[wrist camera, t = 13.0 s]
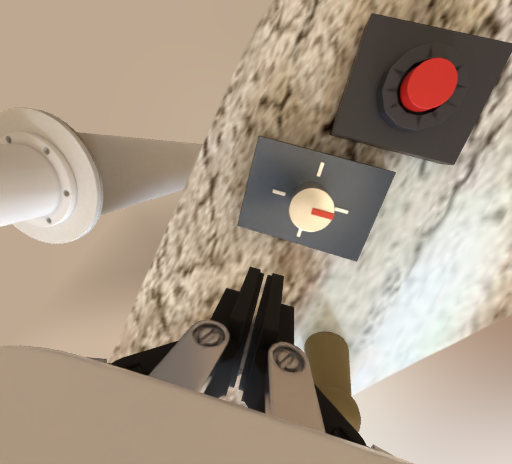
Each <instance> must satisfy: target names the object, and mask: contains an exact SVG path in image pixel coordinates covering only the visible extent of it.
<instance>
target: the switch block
mask: <svg viewBox="0 0 512 464" xmlns="http://www.w3.org/2000/svg"><path fill="white" fill-rule="evenodd" d="M511 52H512V43H508V42H503V41H498V40H494V39H489V38H484V37H480V36H475V35H470V34H466V33H461V32H457V31H452V30H447V29H443V28H438V27H433V26H429V25H424V24H419V23H415V22H410V21H405V20H401V19H396V18H392V17H387V16H382V15H378V14H373V13H372V14H371V16H370V18H369V20H368V22H367V24H366V26H365V29H364V32H363V35H362V38H361V41H360V44H359V47H358V50H357V53H356V56H355V59H354V62H353V65H352V68H351V71H350V74H349V77H348V80H347V83H346V86H345V90H344V93H343V96H342V99H341V102H340V105H339V108H338V111H337V114H336V117H335V120H334V123H333V126H332V129H331V132H330V135H332V136H336V137H340V138H344V139H348V140H352V141H355V142H359V143H363V144H367V145H371V146H375V147H378V148H382V149H386V150H390V151H394V152H398V153H401V154H405V155H409V156H413V157H417V158H421V159H425V160H428V161H432V162H436V163H440V164H448V165H454V164H455V162H456V160H457V158H458V156H459V154H460V152H461V150H462V148H463V147H464V145H465V143H466V141H467V139H468V137H469V135H470V133H471V131H472V129H473V127H474V125H475V123H476V121H477V119H478V117H479V115H480V113H481V111H482V109H483V107H484V105H485V103H486V101H487V99H488V98H489V96H490V94H491V92H492V90H493V88H494V86H495V84H496V82H497V80H498V78H499V76H500V74H501V72H502V70H503V68H504V66H505V64H506V62H507V60H508V58H509V56H510V54H511ZM432 58H444V59H447V60H449V61H450V62H451V63H452V64H453V65H454V66H455V68H456V70H457V75H458V80H457V85H456V88H455V90H454V92H453V94H452V95H451V96H450V98H449V99H448V100H447V101H445V102H444V103H443V104H441V105H440V106H437V107H435V108H432V109H429V110H426V111H422V112H414V111H410V110H408V109H407V108H406V107H405V106H404V105H403V104H402V102H401V99H400V87H401V84H402V82H403V80H404V78H405V77H406V76H407V75H408V73H409V72H411V71H412V70H413V69H414V68H416V67H417V66H418V65H420V64H421V63H423V62H424V61H426V60H429V59H432Z"/></svg>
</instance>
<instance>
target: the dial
mask: <svg viewBox="0 0 512 464" xmlns="http://www.w3.org/2000/svg"><path fill="white" fill-rule="evenodd" d="M334 212H335V206H334V202H333V200H332V198H331V197H330V195H329V194H328V192H327V191H326V189H325V188H324V187H323V186H321V185H320V184H317V183H313V182H308V183H304V184H302V185H300V186H299V187H297V188H296V189H295V191H294V192H293V194H292V197H291V201H290V206H289V215H290V218H291V220H292V222H293V223H294V225H295V226H297V227H298V228H299V229H301V230H304V231H308V232H314V231H319V230H321V229H323V228H325V227H326V226H327V225H328V224H329V223H330V222H331V220H333V217H334Z"/></svg>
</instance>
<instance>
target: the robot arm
mask: <svg viewBox="0 0 512 464" xmlns="http://www.w3.org/2000/svg"><path fill="white" fill-rule="evenodd" d="M76 201H77V185H76V180H75V177H74V173H73V171H72V169H71V167H70V164H69V163H68V161H67V160H66V158H65V157H64V155H63V154H62V153H61V152H60V150H59V149H58V148H57V147H56V146H55V145H53V144H52V143H51V142H50V141H48V140H47V139H45V138H44V137H42V136H39V135H37V134H34V133H29V132H17V131H15V132H10V133H7V134H5V135H3V136H1V137H0V227H1V226H5V225H9V224H13V223H17V222H21V221H25V222H27V223H30V224H32V225H36V226H40V227H48V226H53V225H56V224H59V223H62V222H63V221H65V220H66V219H68V217H69V216H70V215H71V214H72V212H73V210H74V208H75V205H76ZM260 271H261V270H260V269H256V268H253V267H250V268H249V271H248V273H247V276H246V278H245V281H244V283H243V286H242V288H241V291H240V292H239V291H236V290H232V289H229V288H226V290H225V292H224V294H223V296H222V298H221V300H220V302H219V304H218V306H217V308H216V310H215V311H214V313H213V315H212V317H211V319H210V320H202V321H199V322H197V323H195V324H194V325H192V326H191V327H190V329H189V330H188V331H187V332H186V333H185V334H184V335H183V337H182V338H181V339H180V340H179V341H176V342H173V343H169V344H166V345H163V346H159V347H156V348H153V349H150V350H146V351H143V352H140V353H137V354H133V355H130V356H127V357H123V358H121V359H119V360H116V361H115V362H113V363H112V364H111V363H107V360H106V359H99V358H89V357H82V356H78V355H75V354H71V353H67V352H63V351H59V350H53V349H47V348H41V347H31V346H0V464H413V463H410V462H408V461H405V460H403V459H400V458H397V457H395V456H393V455H391V454H389V453H388V452H386V451H384V450H382V449H380V448H379V447H377V446H375V445H372V447H371V448H370V447H368V446H366V444H365V442H364V440H363V438H362V437H361V436H360V434H359V433H358V432H357V431H356V430H355V428H354V427H353V426H352V425H351V424H350V423H349V422H348V421H347V420H346V418H345V417H344V416H343V415H342V414H341V413H340V412H339V411H338V409H337V408H336V407H335V406H334V405H333V404H332V403H331V402H330V400H329V399H328V398H327V397H326V396H325V395H324V394H323V393H322V392H321V390H320V389H319V388H318V387H317V386H316V385H315V384H314V382H313V377H312V373H311V369H310V365H309V361H308V359H307V356H306V355H305V354H304V352H303V351H302V350H301V349H300V348H298V347H297V346H295V345H294V307H291V306H288V305H284V304H281V301H282V290H283V280H284V276H281V275H278V274H274V273H273V274H272V276H270V275H268V276H267V279H266V283H265V287H264V290H263V294H262V297H261V301H260V305H259V308H258V312H257V316H256V319H255V323H254V327H253V331H252V335H251V339H250V343H249V347H248V352H247V356H246V360H245V364H244V368H243V372H242V376H241V381H240V385H239V390H242V391H243V396H242V400H241V401H244V402H245V403H246V405H247V407H248V408H247V407H243V406H240V405H237V404H234V403H231V402H228V401H225V400H222V399H219V397H221V396H223V395H225V396H226V394H227V390H228V387H229V386H230V387H233V388H234V386H235V382H236V379H237V375H238V371H239V368H240V364H241V360H242V357H243V353H244V349H245V346H246V342H247V338H248V334H249V331H250V327H251V323H252V319H253V316H254V312H255V308H256V304H257V300H258V296H259V292H260V289H261V285H262V281H263V277H264V274H263V273H260Z"/></svg>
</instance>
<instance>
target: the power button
mask: <svg viewBox="0 0 512 464" xmlns="http://www.w3.org/2000/svg"><path fill="white" fill-rule="evenodd" d="M457 80H458V75H457V70H456V68H455V66H454V65H453V64H452V63H451V62H450V61H449V60H447V59H444V58H432V59H429V60H426V61H424V62H423V63H421V64H420V65H418V66H417V67H416V68H414V69H413V70H412V71H411V72H409V73H408V75H407V76H406V77H405V78H404V80H403V82H402V84H401V87H400V99H401V102H402V104H403V105H404V106H405V107H406V108H407V109H408V110H410V111H414V112H422V111H426V110H429V109H432V108H435V107H437V106H440V105H441V104H443V103H444V102H445V101H447V100H448V99H449V98H450V96H451V95H452V94H453V92H454V90H455V88H456V85H457Z"/></svg>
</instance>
